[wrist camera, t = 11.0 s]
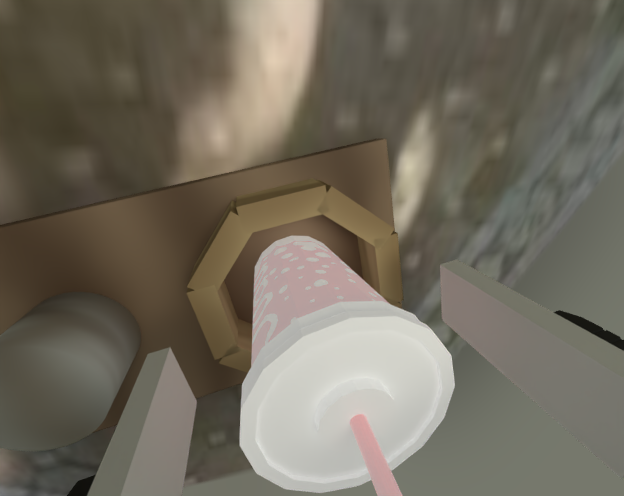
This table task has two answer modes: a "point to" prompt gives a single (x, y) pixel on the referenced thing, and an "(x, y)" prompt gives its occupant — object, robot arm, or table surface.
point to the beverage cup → (335, 375)
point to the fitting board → (169, 283)
